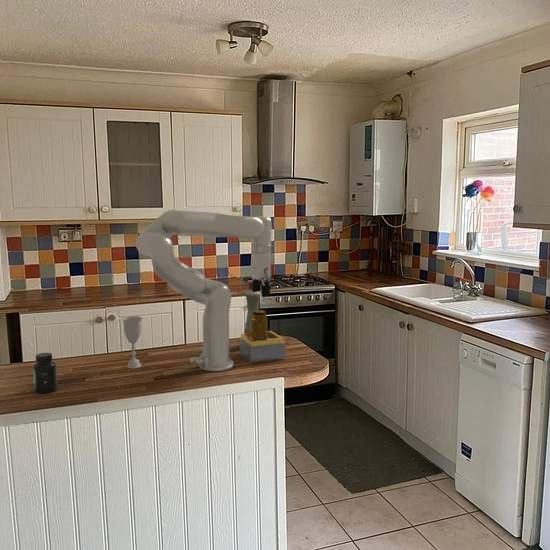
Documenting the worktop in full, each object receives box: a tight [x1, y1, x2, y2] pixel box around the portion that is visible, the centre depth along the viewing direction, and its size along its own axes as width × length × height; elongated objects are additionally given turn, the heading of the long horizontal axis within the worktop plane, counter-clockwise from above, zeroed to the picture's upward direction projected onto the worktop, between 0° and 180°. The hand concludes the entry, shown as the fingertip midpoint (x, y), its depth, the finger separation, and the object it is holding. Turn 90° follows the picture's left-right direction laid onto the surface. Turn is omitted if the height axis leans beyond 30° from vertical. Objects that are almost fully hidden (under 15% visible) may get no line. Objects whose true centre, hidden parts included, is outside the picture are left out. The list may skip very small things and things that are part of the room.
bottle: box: [243, 280, 261, 334], centre depth 222 cm, size 9×9×28 cm
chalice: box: [121, 315, 143, 369], centre depth 197 cm, size 7×7×18 cm
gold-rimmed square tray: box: [238, 330, 287, 364], centre depth 210 cm, size 16×13×8 cm
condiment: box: [251, 309, 272, 341], centre depth 208 cm, size 7×8×12 cm
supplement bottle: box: [32, 352, 58, 395], centre depth 173 cm, size 7×7×12 cm
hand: (260, 293), depth 206 cm, fingers open, 9 cm apart
